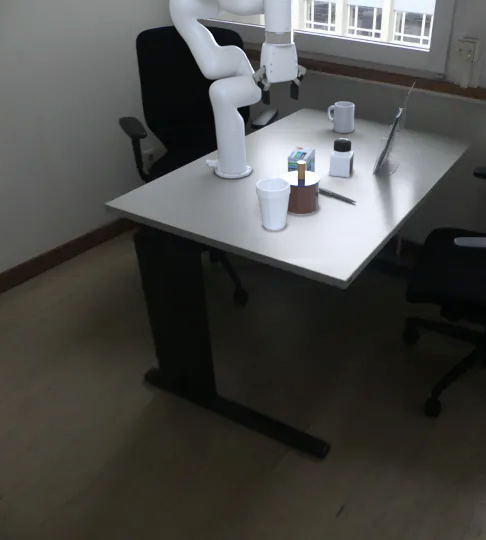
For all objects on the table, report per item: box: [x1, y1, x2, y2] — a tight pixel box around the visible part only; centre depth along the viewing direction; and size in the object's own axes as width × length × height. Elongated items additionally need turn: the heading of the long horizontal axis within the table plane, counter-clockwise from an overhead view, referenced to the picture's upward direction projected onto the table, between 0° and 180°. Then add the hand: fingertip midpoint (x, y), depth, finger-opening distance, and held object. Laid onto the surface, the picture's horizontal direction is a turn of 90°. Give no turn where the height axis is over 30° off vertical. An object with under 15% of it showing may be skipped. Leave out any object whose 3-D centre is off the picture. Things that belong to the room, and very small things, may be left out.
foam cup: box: [255, 177, 290, 230], centre depth 150 cm, size 10×9×13 cm
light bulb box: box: [287, 146, 316, 173], centre depth 177 cm, size 11×7×11 cm, turn 167°
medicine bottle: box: [329, 137, 355, 178], centre depth 185 cm, size 7×7×12 cm
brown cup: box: [287, 182, 320, 215], centre depth 161 cm, size 10×10×10 cm
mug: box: [326, 101, 355, 134], centre depth 225 cm, size 12×8×11 cm
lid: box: [282, 161, 321, 187], centre depth 157 cm, size 11×11×6 cm
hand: (280, 101), depth 154 cm, fingers open, 9 cm apart
